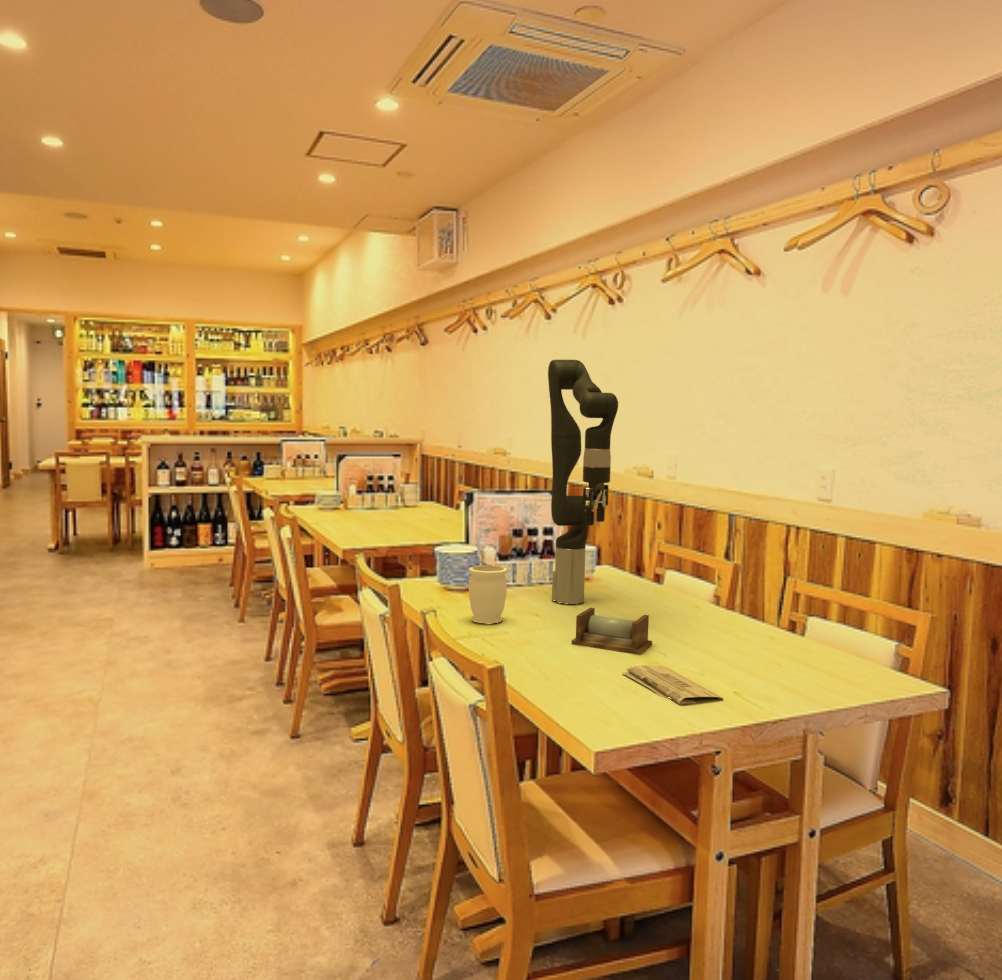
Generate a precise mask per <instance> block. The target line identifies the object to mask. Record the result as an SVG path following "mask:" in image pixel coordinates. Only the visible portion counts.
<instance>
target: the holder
mask: <svg viewBox="0 0 1002 980" xmlns="http://www.w3.org/2000/svg"><path fill="white" fill-rule="evenodd" d="M595 609H596V608H595V607H589V608H587V609H585V610H583V611H582V612H580V613H578V614H576V618H575V619H576V620H575V623H576V624H575V625H576V626H575V637H574V638H573V639H572V640H571V645H577V646H582V647H589V648H595V649H601V650H608V651H613V652H614V651H615V652H620V653H626V654H627V653H628V654H632V655H633V654H634V655H639V656H640V655H642V654H643V653H644V652H645V651H646V650H647V649H649V648H650V647H651V646H652V644H653V640H649V621H650V618H649V616H650V615H649V614H643V615H642V616H640V617H639V618H638V619H636V620H634V621H635V622H633V623H632V639H625V638H618V637H611V636H605V635H598V634H591V633H589V631H588V625H589V620H590V618H591V616H592V615H595V613H596V612H595Z"/></svg>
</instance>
